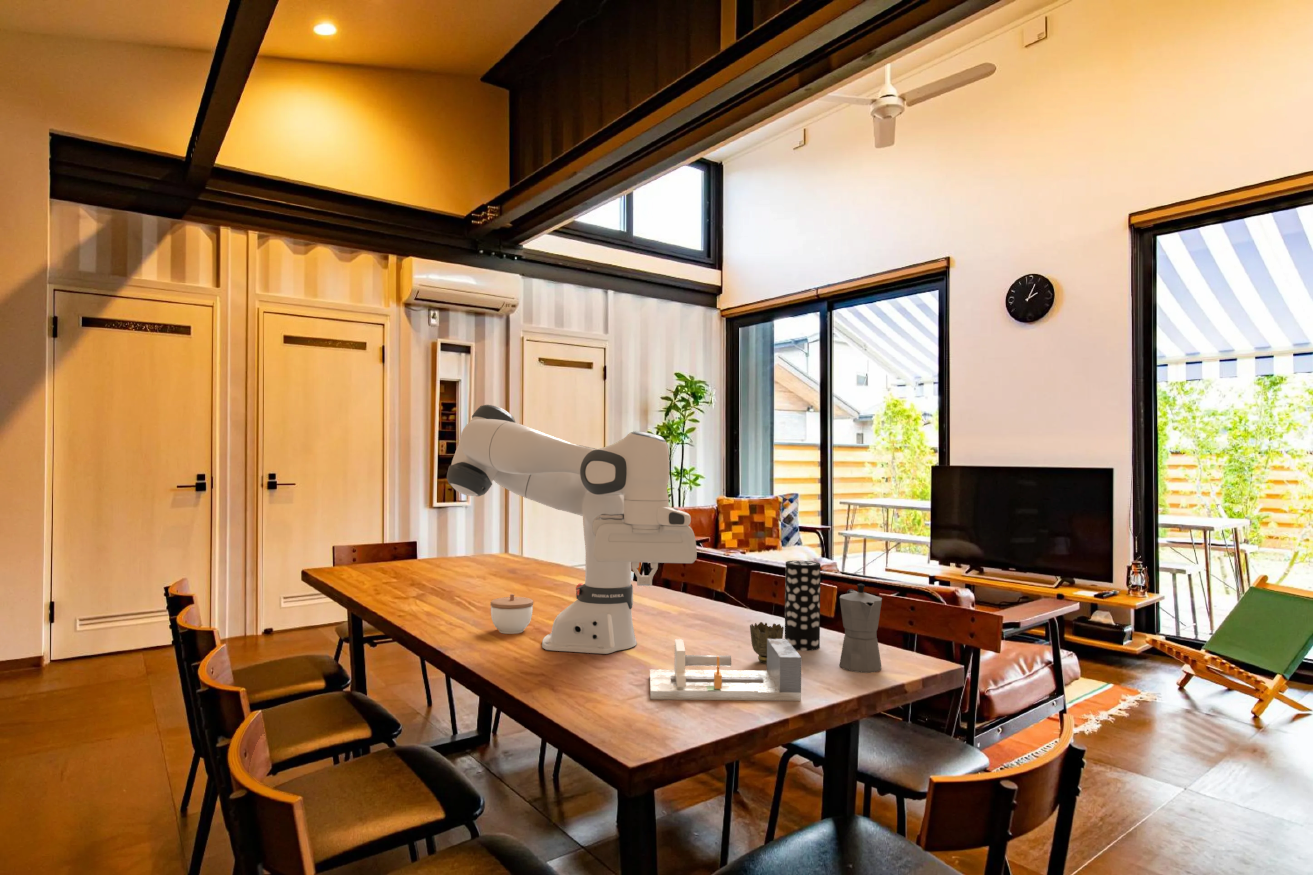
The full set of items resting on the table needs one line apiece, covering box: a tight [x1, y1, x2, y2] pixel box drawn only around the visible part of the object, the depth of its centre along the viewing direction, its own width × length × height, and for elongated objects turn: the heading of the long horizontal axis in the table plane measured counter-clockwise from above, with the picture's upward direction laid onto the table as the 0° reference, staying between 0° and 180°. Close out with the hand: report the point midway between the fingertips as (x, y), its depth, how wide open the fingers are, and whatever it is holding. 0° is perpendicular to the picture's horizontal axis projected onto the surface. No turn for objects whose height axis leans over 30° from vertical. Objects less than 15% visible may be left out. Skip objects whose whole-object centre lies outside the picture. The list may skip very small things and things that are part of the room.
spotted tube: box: [784, 560, 822, 652], centre depth 176 cm, size 8×8×20 cm
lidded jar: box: [490, 593, 534, 635], centre depth 187 cm, size 11×11×9 cm
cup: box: [749, 621, 785, 664], centre depth 162 cm, size 8×7×8 cm
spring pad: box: [673, 638, 732, 687], centre depth 141 cm, size 11×12×6 cm
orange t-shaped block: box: [714, 656, 722, 689], centre depth 137 cm, size 1×2×6 cm, turn 1°
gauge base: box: [649, 638, 802, 702], centre depth 142 cm, size 28×14×8 cm, turn 91°
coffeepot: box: [839, 583, 883, 674], centre depth 160 cm, size 15×9×18 cm, turn 2°
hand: (644, 585), depth 143 cm, fingers closed
